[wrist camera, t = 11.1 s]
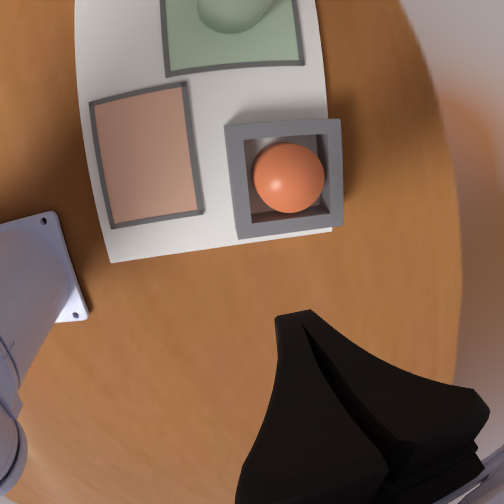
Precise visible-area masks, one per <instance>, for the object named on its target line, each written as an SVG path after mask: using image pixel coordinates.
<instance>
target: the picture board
mask: <svg viewBox="0 0 504 504" xmlns="http://www.w3.org/2000/svg"><path fill="white" fill-rule="evenodd" d="M75 60H76V77H77V89H78V100H79V109H80V118H81V125H82V133H83V140H84V146H85V152H86V158H87V164H88V170H89V175H90V180H91V185H92V190H93V195H94V200H95V204H96V208H97V213H98V217H99V221H100V225H101V229H102V233H103V237H104V241H105V245H106V248H107V252H108V256H109V259H110V263H116V262H122V261H129V260H136V259H142V258H149V257H156V256H162V255H169V254H176V253H183V252H190V251H196V250H203V249H210V248H217V247H224V246H231V245H238V244H245V243H252V242H259V241H266V240H273V239H280V238H288V237H295V236H302V235H309V234H317V233H324V232H331V231H332V227H337V226H343V221H344V203H343V157H342V135H341V119H328V110H327V98H326V87H325V76H324V67H323V58H322V49H321V41H320V33H319V26H318V19H317V12H316V6H315V0H274V1H273V2H272V3H271V5H270V6H269V7H268V9H267V10H266V12H265V13H264V14H263V16H262V17H261V19H260V20H259V21H258V23H257V24H256V25H255V26H253V27H252V28H251V29H249V30H247V31H245V32H242V33H237V34H224V33H219V32H216V31H214V30H212V29H210V28H209V27H207V26H206V25H205V24H204V23H203V22H202V21H201V19H200V17H199V15H198V11H197V0H75ZM275 142H289V143H293V144H297V145H300V146H303V147H306V148H308V149H309V150H311V151H312V152H313V153H314V154H315V155H316V156H317V157H318V158H319V160H320V162H321V164H322V166H323V170H324V185H323V189H322V191H321V193H320V195H319V197H318V198H317V200H316V201H315V202H314V203H313V204H312V205H311V206H309V207H308V208H306V209H304V210H302V211H299V212H294V213H284V212H279V211H277V210H274V209H272V208H271V207H269V206H268V205H267V204H266V203H265V202H264V201H263V200H262V198H261V197H260V195H259V194H258V193H257V191H256V190H255V188H254V186H253V184H252V180H251V166H252V163H253V160H254V158H255V157H256V155H257V154H258V153H259V152H260V151H261V150H262V149H263V148H264V147H266V146H267V145H270V144H272V143H275Z"/></svg>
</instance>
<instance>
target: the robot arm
mask: <svg viewBox="0 0 504 504" xmlns="http://www.w3.org/2000/svg"><path fill="white" fill-rule="evenodd" d="M43 218H45V219H46V220H47V223H44V221H43ZM74 312H76V313H78V315H76V314H75V313H74ZM88 316H89V311H88V308H87V306H86V303H85V300H84V298H83V295H82V292H81V290H80V287H79V284H78V281H77V278H76V275H75V272H74V270H73V266H72V263H71V260H70V257H69V254H68V251H67V247H66V244H65V241H64V237H63V234H62V230H61V226H60V223H59V219H58V216H57V214H56V213H55V212H54V211H47V212H43V213H39V214H36V215H32V216H28V217H24V218H20V219H17V220H13V221H10V222H6V223H2V224H0V497H1V496H3V495H5V494H6V493H7V492H8V491H10V490H11V489H12V488H13V486H14V485H15V484H16V483H17V481H18V480H19V478H20V476H21V474H22V472H23V470H24V467H25V463H26V460H27V452H28V449H27V439H26V435H25V433H24V430H23V428H22V426H21V425H20V423H19V422H18V421H17V418H18V415H19V413H20V411H21V408H22V406H23V403H22V401H21V400H20V398H19V395H18V389H19V387H20V385H21V383H22V381H23V379H24V377H25V375H26V373H27V372H28V370H29V368H30V366H31V364H32V362H33V360H34V358H35V356H36V355H37V353H38V351H39V349H40V347H41V346H42V344H43V342H44V340H45V338H46V337H47V335H48V333H49V331H50V330H51V328H52V326H53V325H54V323H58V322H70V321H81V320H86V319H87V318H88ZM274 321H275V331H276V342H277V352H278V361H277V369H276V376H275V382H274V386H273V391H272V395H271V398H270V402H269V405H268V409H267V412H266V415H265V418H264V421H263V423H262V426H261V428H260V430H259V433H258V435H257V438H256V440H255V442H254V444H253V447H252V448H251V450H250V452H249V454H248V456H247V458H246V460H245V462H244V464H243V466H242V470H241V474H240V478H239V481H238V486H237V490H236V496H235V504H448V503H449V502H451V501H453V500H455V499H456V498H458V497H459V496H461V495H463V494H464V493H466V492H467V491H469V490H471V489H472V488H474V487H475V486H477V485H478V484H480V483H481V484H480V486H478V487H477V488H475V489H474V490H473V491H471V492H470V493H469V494H467V495H466V496H465V497H464V498H463V499H462V500H461V501H460V502H459V503H458V504H504V445H503V446H502V447H501V448H499V449H497V450H496V451H495V452H493V453H492V454H491V455H489V456H488V457H486V458H485V459H483V460H482V461H480V459H479V458H478V456H477V455H476V453H475V452H476V451H477V449H478V446H477V445H476V443H475V442H474V439H475V438H476V436H477V435H478V434H479V432H480V431H481V429H482V428H483V427H484V425H485V423H486V422H487V420H488V418H489V414H490V409H489V407H488V406H487V405H486V403H485V402H484V401H483V400H482V398H481V397H480V396H479V395H478V393H477V392H476V391H475V390H474V389H470V388H464V387H459V386H454V385H448V384H444V383H440V382H437V381H433V380H430V379H426V378H423V377H420V376H417V375H415V374H412V373H410V372H407V371H404V370H402V369H400V368H397V367H395V366H393V365H391V364H389V363H387V362H385V361H383V360H381V359H379V358H377V357H375V356H374V355H372V354H370V353H368V352H367V351H365V350H364V349H362V348H360V347H359V346H357V345H356V344H354V343H353V342H352V341H350V340H349V339H347V338H346V337H345V336H343V335H342V334H341V333H339V332H338V331H337V330H335V329H334V328H333V327H332V326H330V325H329V324H328V323H327V322H325V321H324V320H323V319H322V318H321V317H319V316H318V315H317V314H316V313H315V312H313V311H312V310H311V309H309V310H304V311H300V312H295V313H290V314H284V315H279V316H277V317H276V318H275V319H274Z"/></svg>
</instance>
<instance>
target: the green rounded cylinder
mask: <svg viewBox="0 0 504 504" xmlns="http://www.w3.org/2000/svg"><path fill="white" fill-rule="evenodd" d="M273 1H274V0H197V11H198V15H199V17H200V19H201V21H202V22H203V23H204V24H205V25H206V26H207V27H209V28H210V29H212V30H214V31H216V32H219V33H224V34H237V33H242V32H245V31H247V30H249V29H251V28H252V27H253V26H255V25H256V24H257V23H258V21H259V20H260V19H261V17H262V16H263V14H264V13H265V12H266V10H267V9H268V7H269V6H270V5H271V3H272V2H273Z"/></svg>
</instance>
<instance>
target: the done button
mask: <svg viewBox="0 0 504 504" xmlns="http://www.w3.org/2000/svg"><path fill="white" fill-rule="evenodd" d="M251 180H252V184H253V186H254V188H255V190H256V191H257V193H258V194H259V195H260V197H261V198H262V200H263V201H264V202H265V203H266V204H267V205H268V206H269V207H271V208H272V209H274V210H277V211H279V212H284V213H294V212H299V211H302V210H304V209H306V208H308V207H309V206H311V205H312V204H313V203H314V202H315V201H316V200H317V198H318V197H319V195H320V193H321V191H322V189H323V185H324V170H323V166H322V164H321V162H320V160H319V158H318V157H317V156H316V155H315V154H314V153H313V152H312V151H311V150H309V149H308V148H306V147H303V146H300V145H297V144H293V143H289V142H275V143H272V144H270V145H267V146H266V147H264V148H263V149H262V150H261V151H260V152H259V153H258V154H257V155H256V157H255V158H254V160H253V163H252V166H251Z"/></svg>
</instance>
